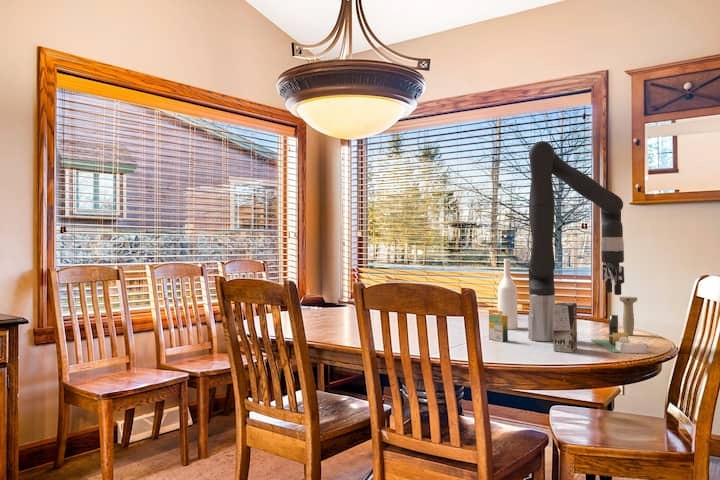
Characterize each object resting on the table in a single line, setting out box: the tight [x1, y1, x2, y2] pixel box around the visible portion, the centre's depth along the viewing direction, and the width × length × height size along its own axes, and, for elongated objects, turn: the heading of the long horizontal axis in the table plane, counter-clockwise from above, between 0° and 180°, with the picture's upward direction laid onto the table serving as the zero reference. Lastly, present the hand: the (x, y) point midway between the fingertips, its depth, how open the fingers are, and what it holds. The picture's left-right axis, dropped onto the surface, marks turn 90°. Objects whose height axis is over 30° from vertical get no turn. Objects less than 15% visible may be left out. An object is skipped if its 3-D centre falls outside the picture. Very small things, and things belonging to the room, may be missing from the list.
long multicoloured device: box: [608, 314, 629, 344], centre depth 197 cm, size 8×5×9 cm, turn 176°
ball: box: [618, 337, 631, 344], centre depth 190 cm, size 4×4×4 cm
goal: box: [616, 341, 648, 354], centre depth 184 cm, size 9×4×3 cm, turn 86°
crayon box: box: [488, 309, 509, 343], centre depth 207 cm, size 7×3×12 cm, turn 31°
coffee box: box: [553, 302, 578, 354], centre depth 188 cm, size 9×6×16 cm
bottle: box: [497, 258, 519, 331], centre depth 234 cm, size 8×8×30 cm
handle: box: [618, 296, 638, 337], centre depth 215 cm, size 5×6×15 cm
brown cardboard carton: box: [608, 335, 615, 345], centre depth 195 cm, size 6×2×3 cm, turn 86°
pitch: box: [591, 339, 645, 354], centre depth 193 cm, size 11×22×1 cm, turn 176°
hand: (613, 293), depth 199 cm, fingers open, 8 cm apart
